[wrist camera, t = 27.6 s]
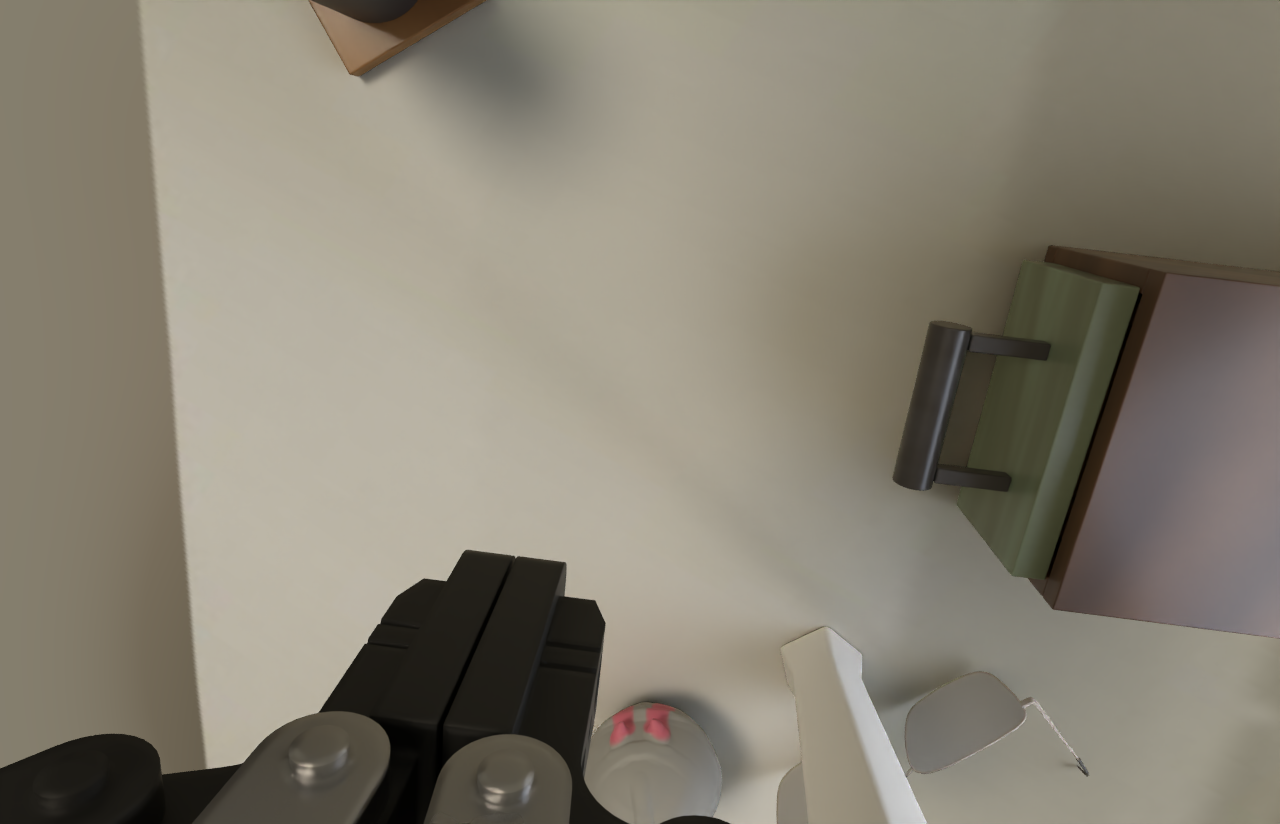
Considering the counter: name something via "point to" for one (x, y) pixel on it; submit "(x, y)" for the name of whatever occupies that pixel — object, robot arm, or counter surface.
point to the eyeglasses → (939, 733)
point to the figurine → (653, 765)
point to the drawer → (1023, 408)
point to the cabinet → (1181, 455)
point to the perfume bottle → (843, 738)
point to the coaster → (386, 31)
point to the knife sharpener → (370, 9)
